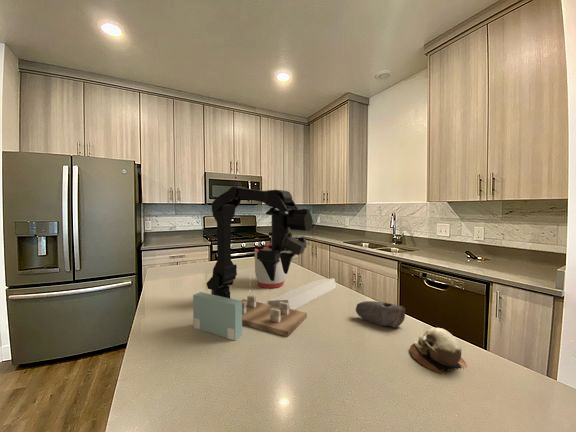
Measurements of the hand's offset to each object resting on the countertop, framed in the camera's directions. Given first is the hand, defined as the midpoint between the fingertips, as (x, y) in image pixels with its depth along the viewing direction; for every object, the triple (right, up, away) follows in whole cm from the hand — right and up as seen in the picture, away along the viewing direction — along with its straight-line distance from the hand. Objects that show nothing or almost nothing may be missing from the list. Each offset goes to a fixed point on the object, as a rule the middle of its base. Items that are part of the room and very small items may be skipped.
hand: (279, 277), depth 80 cm
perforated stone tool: (+32, -15, -1) cm, 35 cm away
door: (-18, -14, -7) cm, 24 cm away
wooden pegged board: (-6, -14, +2) cm, 15 cm away
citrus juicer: (-6, -13, +37) cm, 39 cm away
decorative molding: (+10, -14, +22) cm, 28 cm away
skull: (+40, -16, -19) cm, 47 cm away
